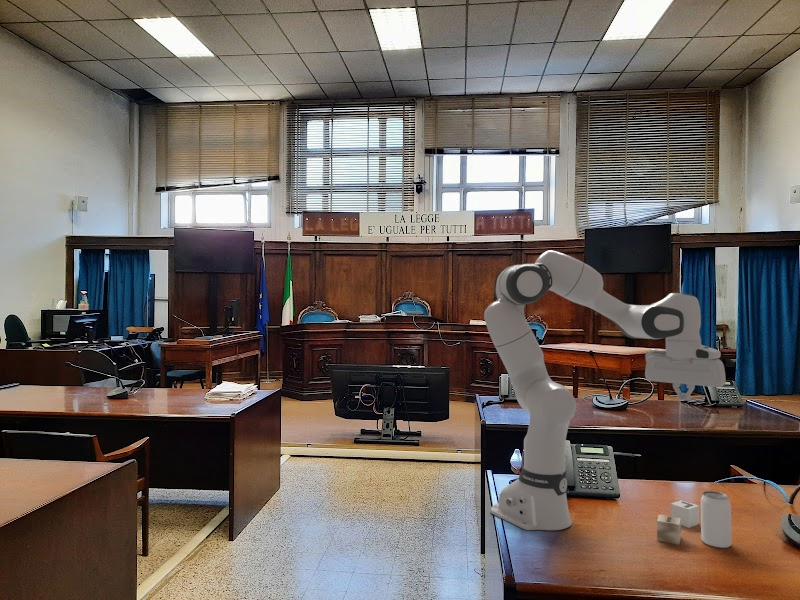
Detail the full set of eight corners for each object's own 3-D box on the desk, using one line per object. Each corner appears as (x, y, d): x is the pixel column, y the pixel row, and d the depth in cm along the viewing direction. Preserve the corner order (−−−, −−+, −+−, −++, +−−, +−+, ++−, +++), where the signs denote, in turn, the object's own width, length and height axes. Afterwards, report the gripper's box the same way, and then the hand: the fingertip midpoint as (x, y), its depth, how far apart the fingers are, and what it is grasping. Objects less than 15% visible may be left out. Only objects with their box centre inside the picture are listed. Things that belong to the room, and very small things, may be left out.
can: (735, 549, 129) (735, 500, 129) (706, 547, 130) (706, 498, 130) (725, 538, 135) (724, 491, 135) (697, 536, 136) (696, 489, 137)
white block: (671, 521, 146) (670, 503, 146) (681, 518, 149) (680, 499, 149) (689, 528, 142) (688, 508, 142) (699, 524, 144) (698, 505, 145)
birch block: (657, 540, 134) (656, 520, 134) (659, 533, 138) (659, 513, 139) (679, 545, 132) (679, 524, 132) (681, 537, 136) (680, 517, 136)
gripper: (641, 349, 154) (641, 396, 154) (719, 353, 139) (720, 406, 139) (649, 348, 159) (650, 394, 158) (727, 352, 144) (727, 403, 143)
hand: (683, 400), depth 149 cm, fingers closed
